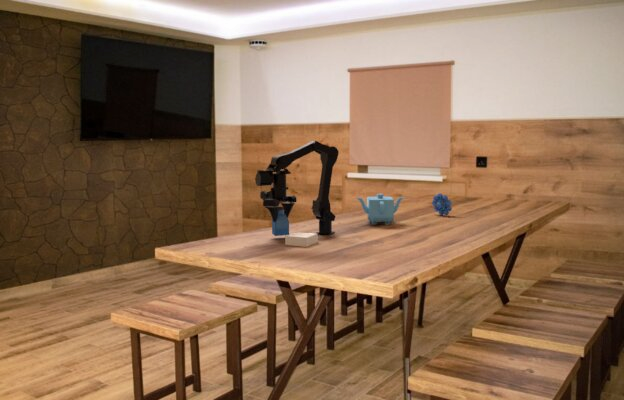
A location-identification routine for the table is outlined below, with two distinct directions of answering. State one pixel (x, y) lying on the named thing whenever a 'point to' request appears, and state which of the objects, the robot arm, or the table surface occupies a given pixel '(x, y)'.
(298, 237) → the cream block
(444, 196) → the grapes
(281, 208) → the perfume bottle
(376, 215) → the teakettle
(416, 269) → the table surface
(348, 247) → the table surface
